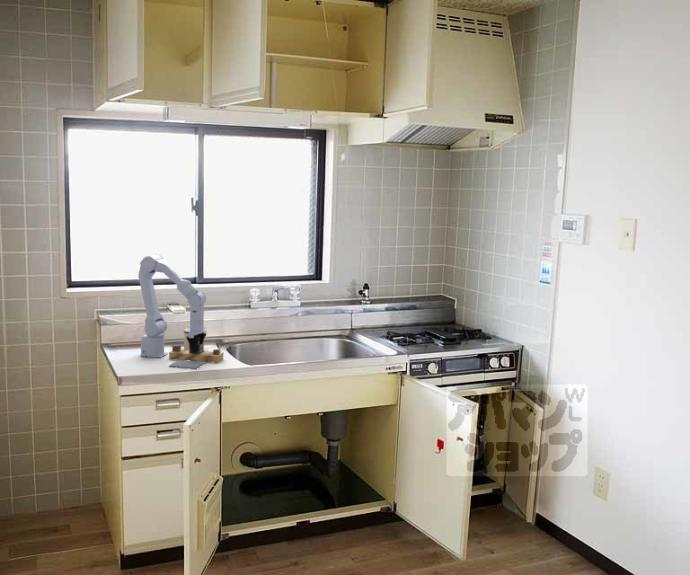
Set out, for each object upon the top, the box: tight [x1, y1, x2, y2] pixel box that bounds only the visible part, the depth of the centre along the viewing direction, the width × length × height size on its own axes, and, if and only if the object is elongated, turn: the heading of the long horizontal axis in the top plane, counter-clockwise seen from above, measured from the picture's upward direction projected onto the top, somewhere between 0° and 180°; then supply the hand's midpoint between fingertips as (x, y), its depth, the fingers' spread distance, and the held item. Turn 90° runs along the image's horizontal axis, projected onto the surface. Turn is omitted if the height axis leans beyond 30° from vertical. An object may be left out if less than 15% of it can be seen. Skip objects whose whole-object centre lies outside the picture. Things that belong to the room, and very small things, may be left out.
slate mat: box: [168, 360, 206, 370], centre depth 302 cm, size 12×10×1 cm
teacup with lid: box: [183, 326, 190, 350], centre depth 331 cm, size 12×9×12 cm
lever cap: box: [189, 342, 205, 354], centre depth 312 cm, size 5×4×5 cm
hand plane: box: [168, 344, 224, 364], centre depth 312 cm, size 22×7×5 cm, turn 82°
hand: (196, 351), depth 312 cm, fingers open, 5 cm apart
